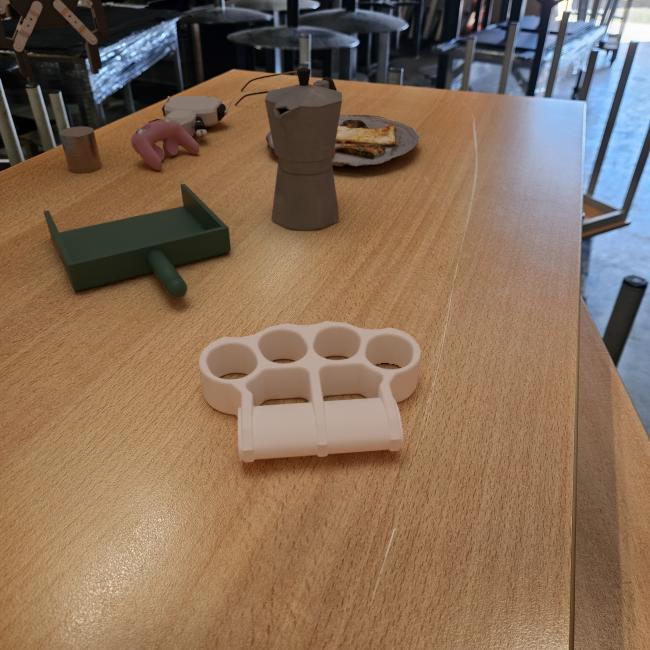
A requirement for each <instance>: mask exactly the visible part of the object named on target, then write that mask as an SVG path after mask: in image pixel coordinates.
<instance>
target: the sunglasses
mask: <svg viewBox="0 0 650 650" xmlns="http://www.w3.org/2000/svg"><path fill="white" fill-rule="evenodd" d="M294 73H297V69H296V70H292V71H291V70H290V71H285V72H280V73H274V74H269V75H264V76H259V77H255V78H252V79H249V80H248V81H247V82H246V83H245V84H244V86H243V87H242V88H241V89H240V91H241V92H243V91H244V89H246V87H247V86H248V85H249V84H250V83H251V82H254V81H257V80H262V79H266V78H272V77H277V76H282V75H283V76H284V75H288V74H294ZM268 91H269V90H265V91H264V90H263V91H257V92H252V93H248V94H245V95H242V96H241V97H240V98H239V99H238V101H236V103H235V104H234V106H237V105H239V103H240V102H241V101H242V100H243V99H245V98H247V97H249V96H255V95H256V96H257V95H263V94H267V92H268Z"/></svg>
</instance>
